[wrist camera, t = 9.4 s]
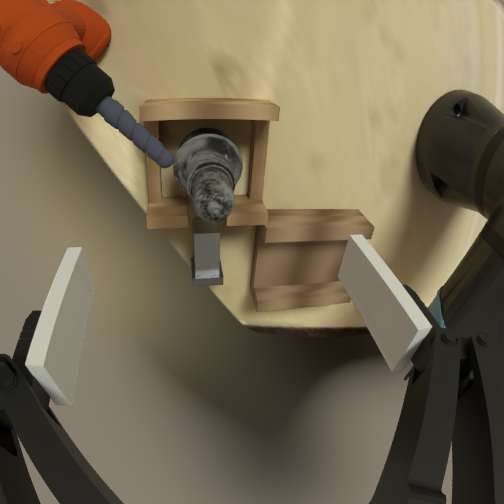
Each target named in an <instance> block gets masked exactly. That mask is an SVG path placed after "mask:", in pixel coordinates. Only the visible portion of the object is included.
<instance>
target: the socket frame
mask: <svg viewBox="0 0 504 504" xmlns="http://www.w3.org/2000/svg"><path fill="white" fill-rule="evenodd" d="M279 112H280V107H279V106H277V105H276V104H274V103H272V102H271V101H269V100H257V99H232V98H183V99H159V100H146V101H145V102H144V103H143V104H142V105H141V106H140V122H142V121H145V129H146V130H147V131H148V132H149V133H150V135H153V136H154V137H156V138H157V139H158V140H159V141H160V120H181V119H246V120H254V124H253V137H252V149H251V162H250V175H249V187H248V195H234V196H235V204H234V208H233V211H232V212H231V214H230V215H229V216H228V217H227V218H225V220H226V224H227V226H244V225H267V221H268V212H267V210H266V208H265V205H264V203H263V201H262V195H263V185H264V175H265V164H266V154H267V144H268V134H269V124H270V121H279ZM146 164H147V180H148V193H149V207H148V212H147V216H146V219H147V229H164V228H187V227H188V197H164V198H162V182H161V167H160V166H159V165H158V164H157V163H156V162H155V161H153V160H152V159H151V158H149V157H148V156H147V153H146Z"/></svg>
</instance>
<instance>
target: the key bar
mask: <svg viewBox="0 0 504 504" xmlns="http://www.w3.org/2000/svg"><path fill="white" fill-rule="evenodd" d="M193 232H194V258H191V263H192V281H193V286H207V285H223V273H222V267H221V261H220V229H219V224H218V222H209V221H206V220H203V219H202V218H195V219H193Z"/></svg>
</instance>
